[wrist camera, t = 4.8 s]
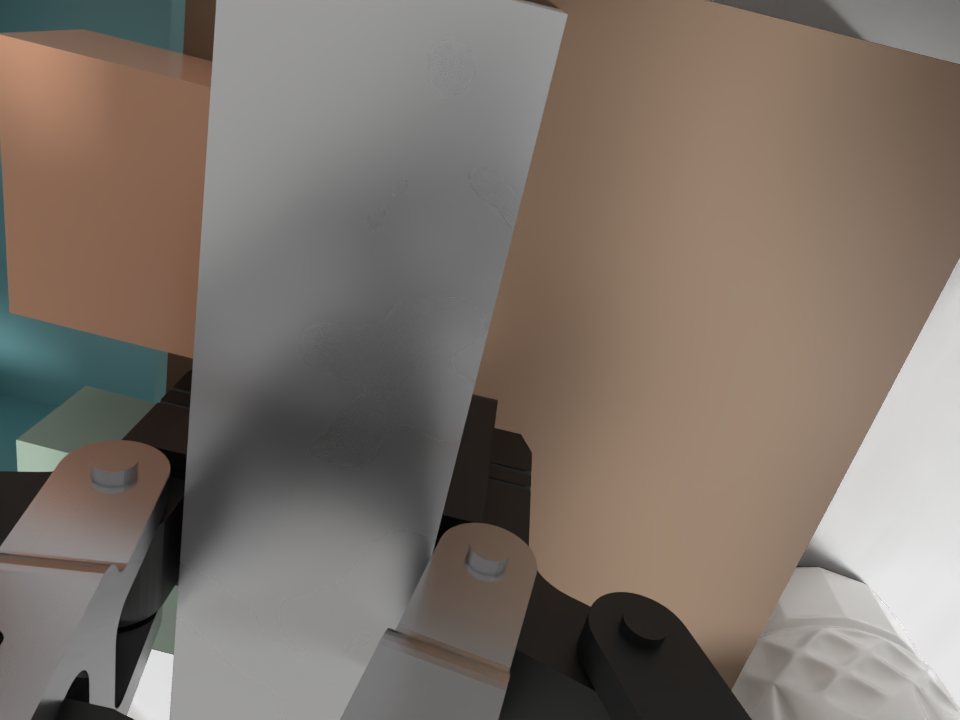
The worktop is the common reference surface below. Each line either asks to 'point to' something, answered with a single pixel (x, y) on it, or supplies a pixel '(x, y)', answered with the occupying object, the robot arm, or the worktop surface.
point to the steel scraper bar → (340, 325)
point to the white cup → (838, 659)
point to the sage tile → (80, 425)
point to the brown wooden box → (708, 293)
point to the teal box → (3, 335)
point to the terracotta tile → (104, 184)
